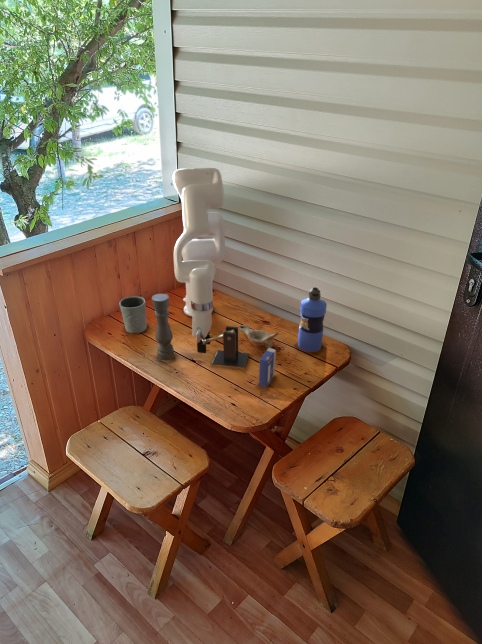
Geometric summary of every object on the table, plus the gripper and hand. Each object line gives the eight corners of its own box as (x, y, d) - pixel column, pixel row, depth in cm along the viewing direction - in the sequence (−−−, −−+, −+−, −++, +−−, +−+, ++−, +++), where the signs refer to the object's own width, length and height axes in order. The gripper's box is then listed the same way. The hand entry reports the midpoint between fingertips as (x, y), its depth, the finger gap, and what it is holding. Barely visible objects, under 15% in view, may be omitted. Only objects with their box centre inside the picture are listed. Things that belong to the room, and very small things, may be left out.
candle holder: (155, 355, 177) (149, 295, 164) (172, 351, 180) (166, 292, 166) (160, 364, 173) (153, 302, 159) (176, 360, 175) (171, 299, 161)
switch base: (212, 366, 172) (211, 334, 165) (218, 352, 180) (217, 321, 172) (244, 369, 170) (245, 338, 163) (249, 356, 178) (249, 325, 170)
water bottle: (304, 356, 178) (310, 296, 164) (292, 343, 185) (297, 285, 171) (326, 351, 181) (333, 291, 167) (313, 339, 188) (319, 281, 174)
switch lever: (201, 348, 171) (198, 343, 170) (205, 341, 175) (202, 336, 174) (234, 339, 167) (231, 334, 166) (237, 332, 171) (234, 326, 170)
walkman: (266, 389, 161) (267, 360, 154) (258, 387, 162) (259, 358, 155) (274, 377, 167) (276, 348, 160) (267, 375, 168) (268, 346, 161)
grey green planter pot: (140, 336, 189) (137, 309, 182) (118, 331, 191) (114, 305, 185) (152, 324, 197) (149, 298, 190) (131, 320, 199) (127, 294, 193)
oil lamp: (268, 358, 176) (269, 335, 171) (231, 335, 190) (231, 313, 184) (284, 350, 181) (286, 327, 176) (248, 328, 195) (248, 306, 189)
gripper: (198, 292, 172) (200, 335, 182) (184, 314, 158) (187, 360, 168) (218, 293, 170) (219, 337, 180) (206, 317, 156) (208, 362, 166)
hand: (204, 347), depth 174 cm, fingers closed on switch lever, 5 cm apart
